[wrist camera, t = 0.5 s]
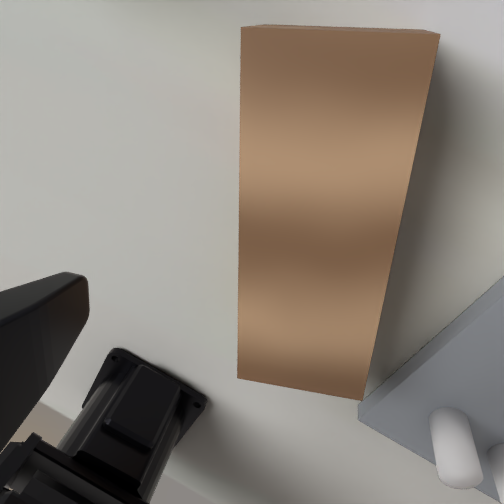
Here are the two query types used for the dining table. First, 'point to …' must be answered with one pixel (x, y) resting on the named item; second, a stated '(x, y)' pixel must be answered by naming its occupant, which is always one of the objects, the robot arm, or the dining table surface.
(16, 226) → the dining table surface
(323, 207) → the shelf board
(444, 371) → the peg plate
